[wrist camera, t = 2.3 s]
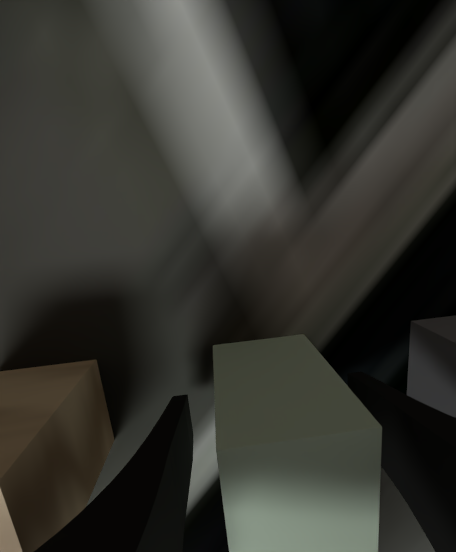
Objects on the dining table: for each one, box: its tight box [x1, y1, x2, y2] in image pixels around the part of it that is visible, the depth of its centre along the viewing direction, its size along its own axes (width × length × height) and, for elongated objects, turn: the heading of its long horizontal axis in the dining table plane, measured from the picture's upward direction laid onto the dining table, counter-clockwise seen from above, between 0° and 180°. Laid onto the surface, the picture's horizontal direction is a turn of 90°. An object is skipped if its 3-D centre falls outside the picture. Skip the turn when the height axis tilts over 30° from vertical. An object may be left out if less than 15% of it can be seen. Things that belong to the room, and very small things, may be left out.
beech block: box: [0, 360, 114, 552], centre depth 10 cm, size 4×4×6 cm
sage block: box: [213, 334, 382, 552], centre depth 10 cm, size 4×4×6 cm
